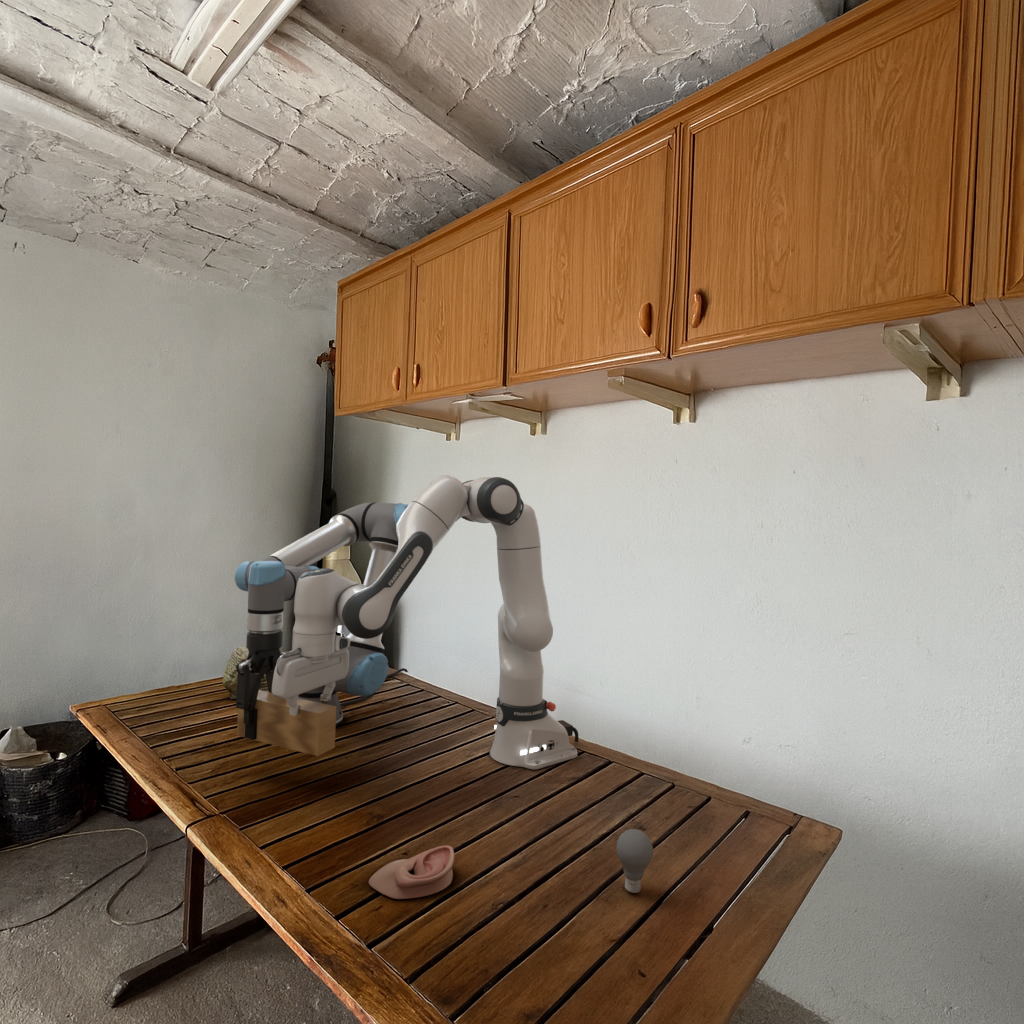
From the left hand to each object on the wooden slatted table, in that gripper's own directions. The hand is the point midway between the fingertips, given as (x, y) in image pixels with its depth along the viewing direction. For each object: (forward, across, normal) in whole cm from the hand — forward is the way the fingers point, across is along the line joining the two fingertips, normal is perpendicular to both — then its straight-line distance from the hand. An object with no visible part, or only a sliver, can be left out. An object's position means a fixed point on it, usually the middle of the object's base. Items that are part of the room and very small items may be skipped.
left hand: (261, 733), depth 142 cm
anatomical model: (+10, -17, -51) cm, 55 cm away
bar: (+1, 0, -7) cm, 7 cm away
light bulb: (+10, -3, -85) cm, 86 cm away
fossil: (+10, +42, +44) cm, 61 cm away
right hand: (-8, 0, -14) cm, 16 cm away
